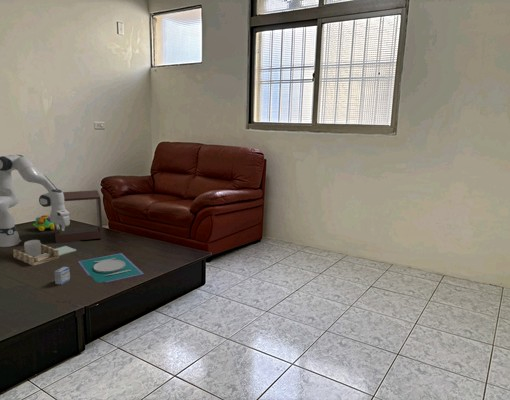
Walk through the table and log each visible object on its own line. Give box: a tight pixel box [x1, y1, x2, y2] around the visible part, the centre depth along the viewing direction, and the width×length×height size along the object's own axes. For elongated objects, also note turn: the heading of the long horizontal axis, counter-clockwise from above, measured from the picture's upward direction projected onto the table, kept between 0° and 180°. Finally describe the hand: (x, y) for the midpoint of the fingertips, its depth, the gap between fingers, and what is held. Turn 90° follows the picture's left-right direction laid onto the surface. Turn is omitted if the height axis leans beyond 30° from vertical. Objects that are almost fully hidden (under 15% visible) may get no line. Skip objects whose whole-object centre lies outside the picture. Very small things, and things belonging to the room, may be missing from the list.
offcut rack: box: [12, 243, 60, 266], centre depth 268 cm, size 26×18×6 cm
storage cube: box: [54, 189, 104, 244], centre depth 316 cm, size 35×29×35 cm
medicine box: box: [53, 266, 71, 286], centre depth 230 cm, size 8×4×9 cm, turn 170°
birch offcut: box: [34, 253, 50, 261], centre depth 264 cm, size 4×10×2 cm, turn 163°
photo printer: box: [23, 239, 43, 257], centre depth 269 cm, size 10×4×12 cm, turn 130°
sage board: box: [55, 245, 77, 257], centre depth 282 cm, size 14×14×1 cm
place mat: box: [77, 252, 145, 284], centre depth 256 cm, size 45×30×2 cm
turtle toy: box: [32, 215, 55, 232], centre depth 337 cm, size 17×23×12 cm
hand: (60, 229), depth 278 cm, fingers open, 5 cm apart
